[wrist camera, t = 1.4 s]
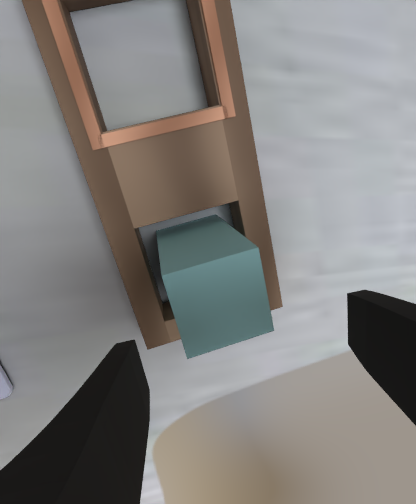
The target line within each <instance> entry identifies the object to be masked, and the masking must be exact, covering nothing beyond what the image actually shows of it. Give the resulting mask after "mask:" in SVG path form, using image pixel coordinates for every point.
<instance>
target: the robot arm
mask: <svg viewBox="0 0 416 504" xmlns="http://www.w3.org/2000/svg"><path fill="white" fill-rule="evenodd" d="M347 302H348V345H349V346H350V348H351V349H352V351H353V352H354V354H355V355H356V357H357V358H358V360H359V361H360V362H361V364H362V365H363V367H364V368H365V369H366V371H367V372H368V373H369V374H370V375H371V376H372V378H373V379H374V380H375V381H376V382H377V383H378V384H379V385H380V387H382V389H383V390H384V391H385V392H386V393H387V394H388V395H389V397H390V398H391V399H392V400H393V401H394V402H395V403H396V404H397V405H398V407H399V408H400V409H401V410H402V411H403V412H404V413H405V414H406V415H407V416H408V418H410V420H411V421H412V422H413V423H414V424H415V425H416V304H414V303H411V302H407V301H404V300H401V299H398V298H394V297H391V296H387V295H384V294H380V293H377V292H373V291H368V290H361V291H357V292H352V293H347ZM12 391H13V386H12V384H11V383H10V381H9V379H8V377H7V375H6V374H5V372H4V370H3V368H2V367H1V365H0V400H1V399H4V398H7V397H9V396H10V395H11V393H12ZM149 421H150V389H149V386H148V383H147V379H146V376H145V372H144V369H143V366H142V362H141V359H140V356H139V352H138V349H137V345H136V342H135V340H130V341H126V342H121V343H116V344H115V345H114V346H113V348H112V349H111V350H110V351H109V353H108V354H107V355H106V356H105V358H104V359H103V360H102V362H101V363H100V364H99V365H98V367H97V368H96V369H95V371H94V372H93V373H92V374H91V375H90V377H89V378H88V379H87V380H86V382H85V383H84V384H83V385H82V387H81V388H80V389H79V390H78V391H77V393H76V394H75V395H74V396H73V397H72V398H71V399H70V401H69V402H68V403H67V404H66V405H65V406H64V407H63V408H62V410H61V411H60V412H59V413H58V414H57V415H56V416H55V418H54V419H53V420H52V421H51V422H50V423H49V424H48V425H47V426H46V427H45V428H44V429H43V430H42V431H41V432H40V433H39V434H38V435H37V436H36V437H35V438H34V439H33V440H32V441H31V442H30V443H29V444H28V445H27V446H26V447H25V448H24V449H23V450H22V451H21V452H20V453H19V454H18V455H17V456H16V457H15V458H14V459H13V460H12V461H10V462H9V463H8V464H7V465H6V466H5V467H4V468H3V469H1V470H0V504H140V497H141V489H142V481H143V472H144V464H145V456H146V448H147V439H148V430H149Z"/></svg>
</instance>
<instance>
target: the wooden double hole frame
mask: <svg viewBox="0 0 416 504" xmlns="http://www.w3.org/2000/svg"><path fill="white" fill-rule="evenodd" d="M125 1H130V0H22V2H23V5H24V8H25V11H26V13H27V16H28V19H29V22H30V24H31V27H32V30H33V33H34V36H35V38H36V41H37V44H38V47H39V49H40V52H41V55H42V58H43V61H44V63H45V66H46V69H47V72H48V74H49V77H50V80H51V83H52V86H53V88H54V91H55V94H56V97H57V99H58V102H59V105H60V108H61V111H62V113H63V116H64V119H65V122H66V124H67V127H68V130H69V133H70V136H71V138H72V141H73V144H74V147H75V149H76V152H77V155H78V158H79V161H80V163H81V166H82V169H83V172H84V174H85V177H86V180H87V183H88V185H89V188H90V191H91V194H92V197H93V199H94V202H95V205H96V208H97V210H98V213H99V216H100V219H101V222H102V224H103V227H104V230H105V233H106V235H107V238H108V241H109V244H110V247H111V249H112V252H113V255H114V258H115V260H116V263H117V266H118V269H119V272H120V274H121V277H122V280H123V283H124V285H125V288H126V291H127V294H128V297H129V299H130V302H131V305H132V308H133V310H134V313H135V316H136V319H137V322H138V324H139V327H140V330H141V333H142V335H143V338H144V341H145V344H146V347H147V349H151V348H154V347H157V346H160V345H164V344H167V343H170V342H173V341H176V340H179V339H181V337H180V333H179V330H178V327H177V324H176V321H175V317H174V314H173V311H172V308H171V305H170V301H169V302H166V303H162V300H161V297H160V294H159V291H158V288H157V285H156V281H155V278H154V275H153V272H152V269H151V266H150V263H149V260H148V256H147V253H146V250H145V247H144V244H143V241H142V238H141V235H140V232H139V228H138V227H142V226H146V225H149V224H153V223H157V222H160V221H164V220H168V219H172V218H175V217H179V216H183V215H186V214H190V213H194V212H197V211H201V210H205V209H208V208H212V207H216V206H219V205H223V204H227V203H229V206H230V210H231V215H232V220H233V225H234V229H235V230H237V231H238V232H239V233H241V234H242V235H243V236H244V237H246V238H247V239H248V240H250V241H251V242H252V243H253V244H255V245H256V246H257V247H259V253H260V258H261V263H262V269H263V274H264V279H265V284H266V290H267V295H268V300H269V306H270V311H271V310H274V309H277V308H280V307H283V306H282V300H281V294H280V288H279V282H278V277H277V271H276V265H275V259H274V253H273V247H272V242H271V236H270V230H269V224H268V218H267V213H266V207H265V201H264V195H263V189H262V183H261V178H260V172H259V166H258V160H257V154H256V149H255V143H254V137H253V131H252V125H251V120H250V114H249V108H248V102H247V96H246V90H245V85H244V79H243V73H242V67H241V61H240V56H239V50H238V44H237V38H236V32H235V26H234V21H233V15H232V9H231V3H230V0H186V3H187V7H188V12H189V17H190V21H191V26H192V31H193V36H194V40H195V45H196V50H197V54H198V59H199V64H200V69H201V73H202V78H203V83H204V88H205V92H206V97H207V102H208V106H209V108H204V109H200V110H196V111H192V112H187V113H183V114H179V115H174V116H170V117H166V118H162V119H157V120H153V121H149V122H144V123H140V124H136V125H132V126H127V127H123V128H119V129H114V130H110V131H107V129H106V126H105V122H104V119H103V116H102V113H101V110H100V107H99V104H98V101H97V98H96V94H95V91H94V88H93V85H92V82H91V79H90V76H89V73H88V69H87V66H86V63H85V60H84V57H83V54H82V51H81V48H80V45H79V41H78V38H77V35H76V32H75V29H74V26H73V23H72V20H71V16H70V13H69V12H72V11H77V10H82V9H88V8H93V7H98V6H104V5H109V4H114V3H120V2H125Z"/></svg>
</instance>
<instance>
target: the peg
mask: <svg viewBox="0 0 416 504" xmlns="http://www.w3.org/2000/svg"><path fill="white" fill-rule="evenodd" d="M156 234H157V243H158V251H159V259H160V267H161V276H162V279H163V282H164V285H165V289H166V292H167V295H168V298H169V301H170V305H171V308H172V311H173V314H174V317H175V321H176V324H177V327H178V330H179V333H180V337H181V340H182V343H183V346H184V349H185V353H186V356H187V359H189V358H192V357H195V356H198V355H201V354H204V353H207V352H210V351H213V350H216V349H219V348H223V347H226V346H229V345H232V344H235V343H238V342H241V341H244V340H247V339H250V338H253V337H256V336H259V335H262V334H265V333H268V332H271V331H274V327H273V322H272V316H271V311H270V306H269V300H268V295H267V290H266V284H265V279H264V274H263V269H262V263H261V258H260V253H259V247H257V246H256V245H255V244H253V243H252V242H251V241H250V240H248V239H247V238H246V237H244V236H243V235H242V234H241V233H239V232H238V231H237V230H235V229H234V228H233V227H231V226H230V225H229V224H228V223H226V222H225V221H224V220H222V219H221V218H220V217H218V216H217V215H212V216H208V217H205V218H201V219H198V220H194V221H190V222H187V223H183V224H179V225H176V226H172V227H169V228H165V229H161V230H158V231H156Z"/></svg>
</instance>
